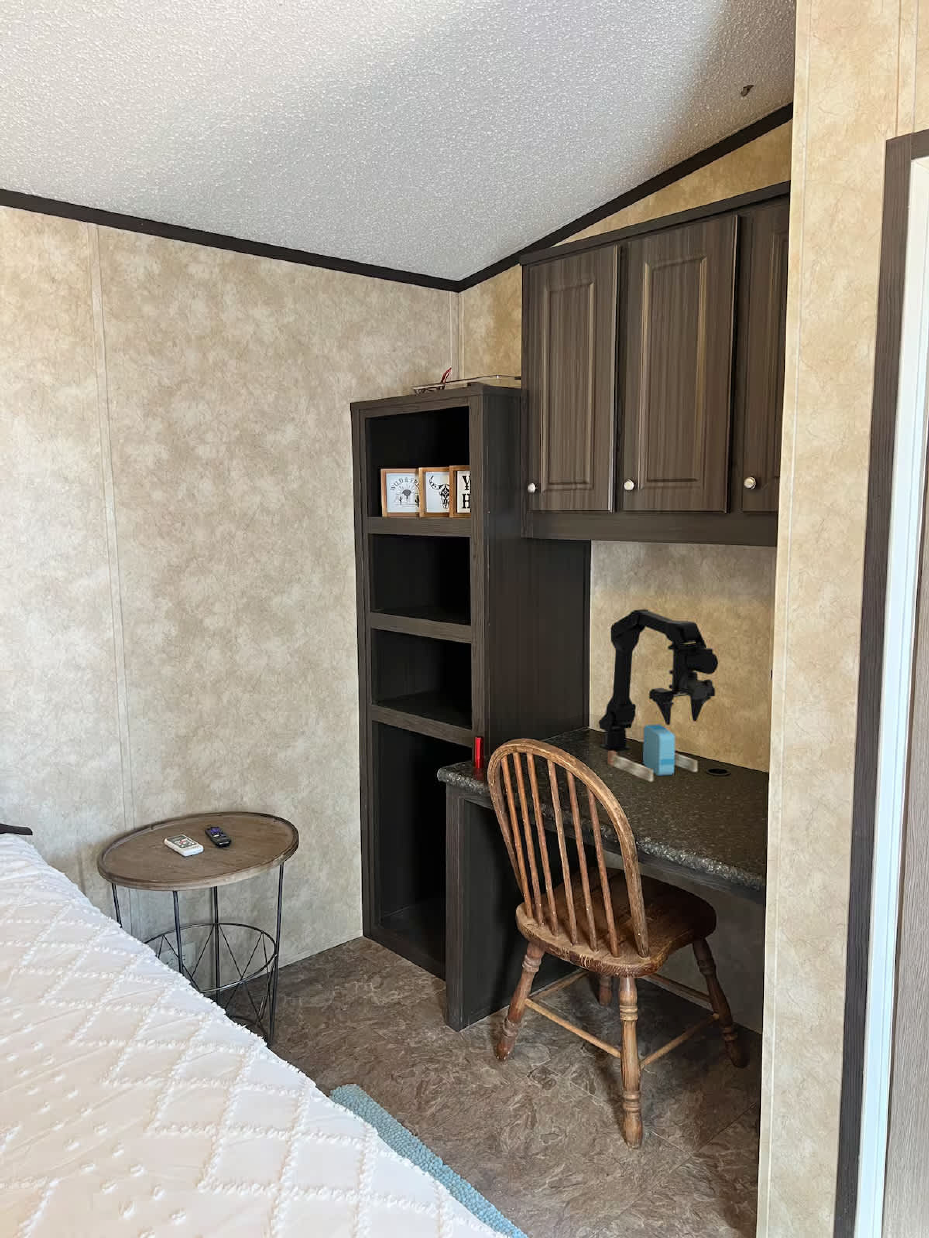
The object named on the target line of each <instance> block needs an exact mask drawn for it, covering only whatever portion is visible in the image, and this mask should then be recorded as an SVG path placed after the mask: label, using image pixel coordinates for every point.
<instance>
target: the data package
mask: <svg viewBox="0 0 929 1238" xmlns="http://www.w3.org/2000/svg"><path fill="white" fill-rule="evenodd" d="M642 748H643V749H642V752H643V753H642V755H643V756H642V762H643V766H645V767H647V768H650V769H652V770H653V774H655V775H656V776H671V775H673V774H674V772H675V764H674V757H675V753H676V749H675V748H676V736H675V734H674V733H673V732H672V731H670V730H669V729H667V728H666V727H665V726H663V725H661V724H646V725H644V727H643V747H642Z"/></svg>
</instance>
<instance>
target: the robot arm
mask: <svg viewBox="0 0 929 1238" xmlns="http://www.w3.org/2000/svg"><path fill="white" fill-rule="evenodd" d="M646 628H647V629H651V630H653V631H654V632H655V631H656V632H659V633H661V634H663V635H665V638H666V639H667V640H668V641H670V642H671V644H670V645H668V646H667V650H669V651H672V669H670V670H669V673H668V674H670V675H672V676H671V678H672V679H671V684H668V689H667V688H663V687H658V688H656V687H655V688H651V690H650V691H649V693H648V695H649V696H648V699H649V700H652V702H654V703H656V705H657V707H658V709H659V710H660V713H661V715H662V717H663V718H662V719H663V720H664V723H665V725H666V726H670V724H671V716H672V713H671V712H672V707H673V705H674V704H675V702H673V700H674V699H675V698H677V697H685V696H688V697H689V699H690V711H691V717H692V721H693V722H697V720H698V718H699V716H700V714H701V711H702V708H703V706H704V705H705V703H706V702H707V701H709V700H711V699H712V697H715V696H716V689H715V686H714V685H713V681H712V680H711V679H704V680H702V679H701V680H699V678H698V673H702V674H706V675H712V674H714V673H715V672H716V671H717V669H718V666H719V661H718V658H717V657H718V656H717V655H716V654H715V653H714V652H713V651H714V649H713V648H710V647H708V648H707V644H706V642H705V641H706V640H704V638H703V635H702V633H701V631H700V629H699V627H698V624H697V623H696V622H694V621H688V620H674V619H671V618H668V617H666V616H662V615H660V614H657V613H656V612H653V611H650V610H649V609H645V608H643V609H634V610H632V611H631V612H630V613H629V614H628V615H626V616H624V617H622V618H621V619H619V620H618V621H616V622H614V623H612V625H611V627H610V642H611V643H612V644H611V645H613V647H614V650H615V657H614V668H613V669H614V674H613V686H612V688H613V690H612V696H611V698H610V700H609V701H608V703H607V705H606V709H605V714H604V715H603V717H601V718H600V719H599V721H598V725H599V729H601V730H603V731H604V744H600V747H602V748H603V749H605V750H608V751H615V752H618V751H624V750H630V746H628V745H627V729H631V728H632V726H633V725H632V724H633V723H634V720H635V718H636V717H637V716H636V709H637V705H636V704H635V703H633V701H632V700H631V698H630V697H631V696H630V693H631V678H632V677H631V676H632V666H633V665H632V664H633V663H632V662H633V652H634V649H636V646H637V645H638V643H639V639H640V634H641V633H642V632H643V631H644V630H646Z"/></svg>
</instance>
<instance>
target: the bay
mask: <svg viewBox="0 0 929 1238" xmlns="http://www.w3.org/2000/svg"><path fill="white" fill-rule="evenodd" d="M617 753H618V751H610V750H608V751H607V765H609V766H611V767H615V768H617V769H620V770H622V771H623V772H624V771H625V772H627V773H629V774H630V775H634V776H636V777H638V778H641V779H643V780H645V781H648V782H654V772H653V770H652V769H650V768H647V767H646V766H645V765H642V764H640V763H636V762H634V761H632V760H629V759H627V758H625V757H622V756H619V755H617ZM698 762H699V761H698V760H695V759H694V758H691V757H687V756H685V755H682V754H680V753H677V752H675V757H674V766H678V767H680V768H681V769H682V768H683V769H685V770H688V771H689V772H693V773H694V772H696V773H697V772H698Z"/></svg>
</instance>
